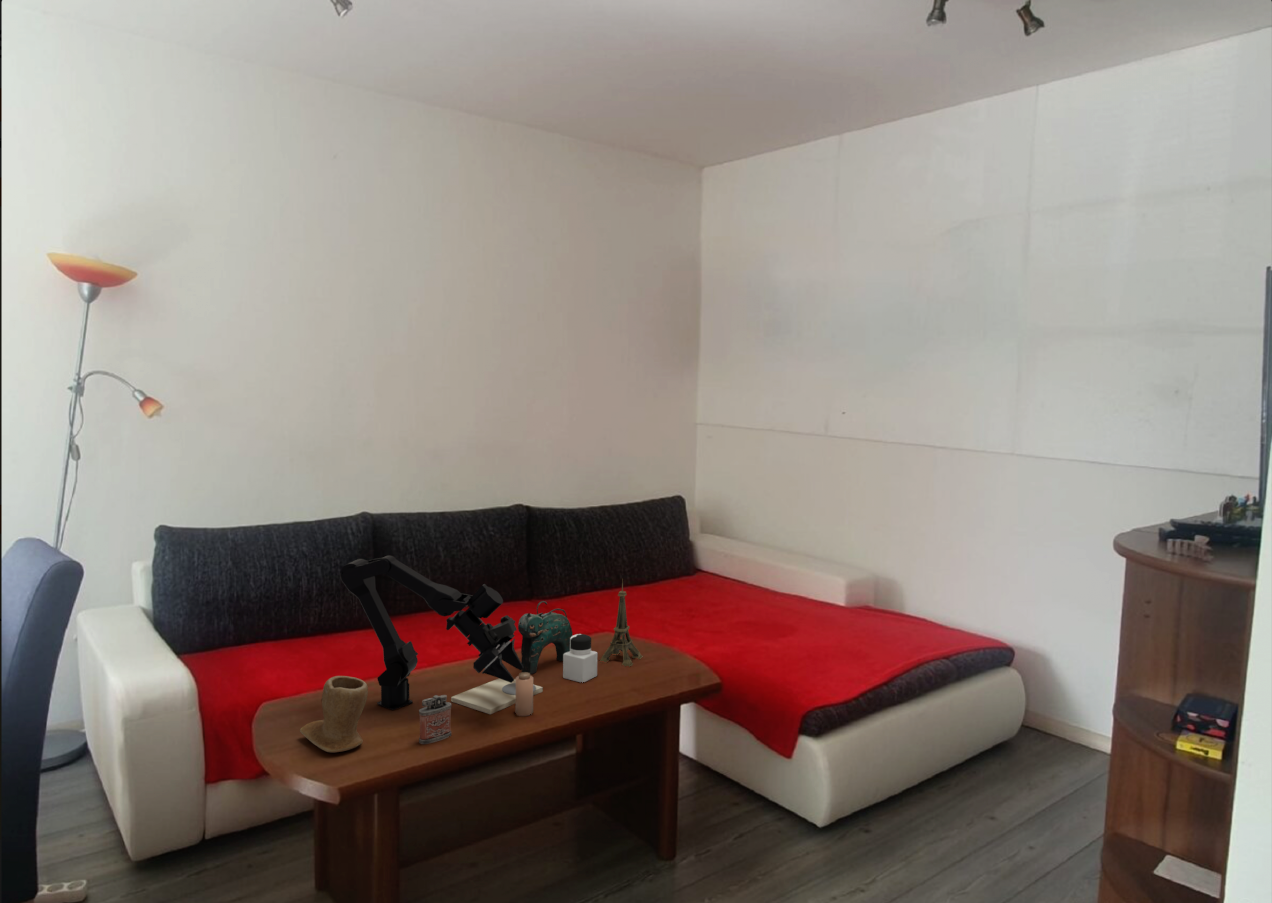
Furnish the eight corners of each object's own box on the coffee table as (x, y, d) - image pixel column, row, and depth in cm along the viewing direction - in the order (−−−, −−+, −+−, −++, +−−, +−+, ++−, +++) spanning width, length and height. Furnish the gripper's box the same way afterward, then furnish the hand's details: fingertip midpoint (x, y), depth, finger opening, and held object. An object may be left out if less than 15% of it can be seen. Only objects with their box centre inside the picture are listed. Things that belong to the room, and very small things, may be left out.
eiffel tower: (612, 652, 263) (614, 573, 262) (643, 657, 259) (645, 576, 257) (597, 662, 254) (599, 580, 252) (629, 667, 250) (631, 584, 248)
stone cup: (376, 746, 192) (376, 681, 191) (325, 761, 184) (324, 694, 183) (348, 725, 203) (348, 664, 202) (298, 738, 195) (298, 675, 194)
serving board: (491, 714, 212) (491, 709, 212) (451, 701, 220) (451, 696, 220) (544, 691, 228) (544, 686, 228) (504, 680, 236) (504, 675, 236)
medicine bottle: (597, 676, 241) (598, 635, 240) (582, 683, 235) (583, 641, 234) (577, 671, 245) (578, 630, 244) (562, 678, 239) (562, 636, 238)
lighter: (446, 731, 201) (446, 690, 200) (454, 735, 199) (454, 694, 198) (416, 740, 196) (416, 698, 195) (423, 745, 193) (423, 702, 192)
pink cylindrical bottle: (524, 717, 210) (525, 678, 210) (511, 713, 213) (512, 674, 212) (536, 712, 214) (537, 673, 213) (523, 707, 217) (523, 669, 216)
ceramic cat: (528, 677, 239) (528, 608, 238) (512, 672, 243) (512, 604, 242) (575, 660, 255) (576, 595, 253) (560, 655, 259) (561, 591, 257)
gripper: (486, 618, 203) (530, 666, 203) (506, 599, 221) (547, 642, 221) (454, 649, 205) (498, 696, 204) (477, 627, 223) (518, 670, 223)
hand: (517, 674), depth 213 cm, fingers open, 9 cm apart
